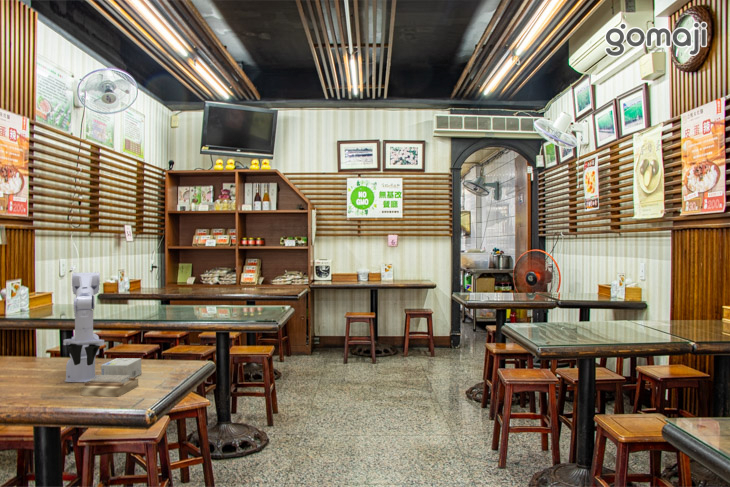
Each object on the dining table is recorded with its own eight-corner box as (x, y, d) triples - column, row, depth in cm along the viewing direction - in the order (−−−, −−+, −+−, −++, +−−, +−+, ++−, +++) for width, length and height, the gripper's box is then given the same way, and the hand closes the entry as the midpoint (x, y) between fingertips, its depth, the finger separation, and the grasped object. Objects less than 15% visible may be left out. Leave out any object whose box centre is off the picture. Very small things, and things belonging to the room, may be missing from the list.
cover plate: (90, 384, 158) (90, 378, 158) (99, 380, 163) (99, 374, 163) (121, 385, 157) (121, 379, 157) (130, 380, 162) (130, 375, 163)
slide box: (80, 395, 155) (80, 385, 155) (103, 385, 167) (103, 375, 167) (118, 396, 154) (118, 386, 154) (138, 386, 166) (138, 376, 166)
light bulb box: (142, 373, 181) (116, 373, 182) (141, 357, 181) (116, 357, 182) (127, 381, 171) (100, 381, 171) (127, 364, 171) (100, 364, 171)
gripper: (57, 329, 158) (56, 367, 158) (95, 330, 157) (94, 368, 157) (71, 326, 165) (71, 361, 165) (108, 326, 164) (107, 362, 164)
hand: (83, 364), depth 161 cm, fingers open, 4 cm apart
